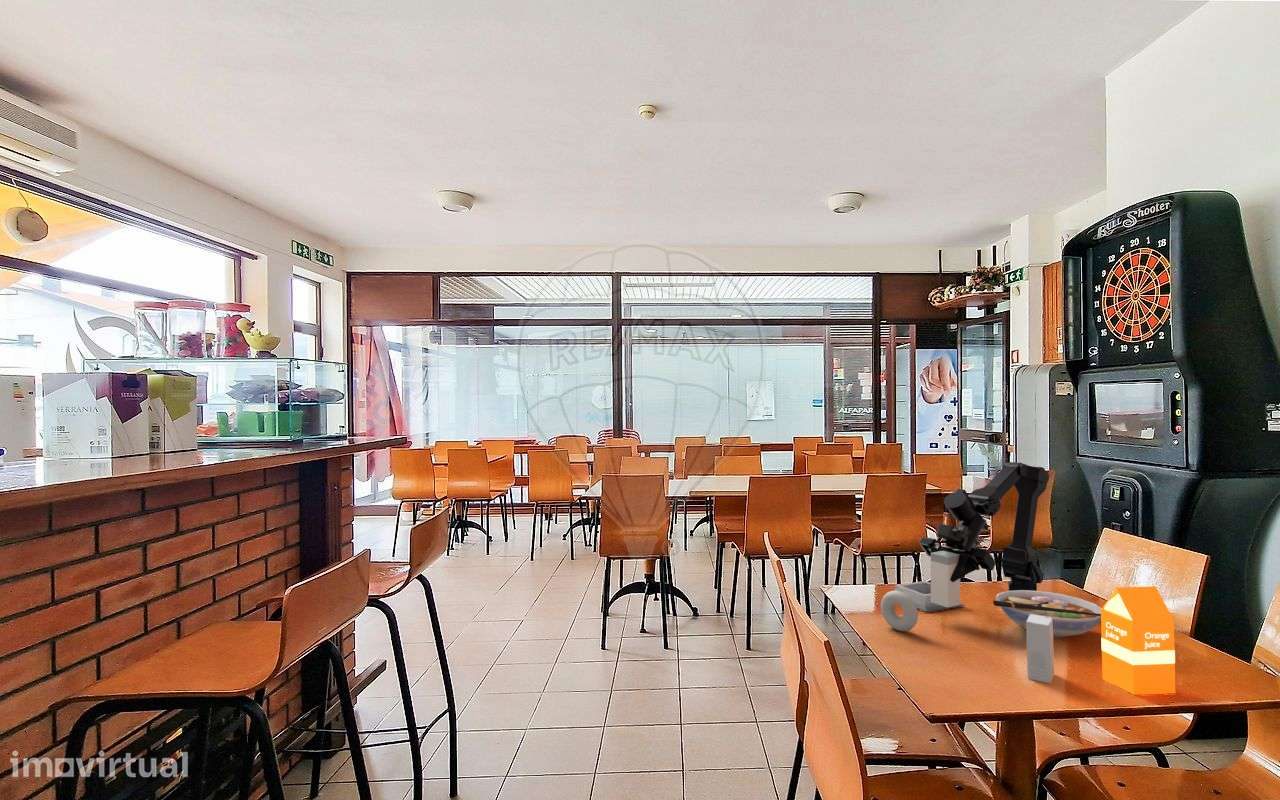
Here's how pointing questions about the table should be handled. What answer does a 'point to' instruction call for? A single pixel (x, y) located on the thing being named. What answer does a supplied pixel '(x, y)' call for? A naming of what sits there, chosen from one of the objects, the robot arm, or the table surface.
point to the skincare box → (1040, 648)
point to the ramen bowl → (1050, 610)
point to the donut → (907, 606)
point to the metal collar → (918, 593)
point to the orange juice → (1138, 641)
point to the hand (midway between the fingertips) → (942, 578)
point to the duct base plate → (937, 608)
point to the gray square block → (944, 579)
